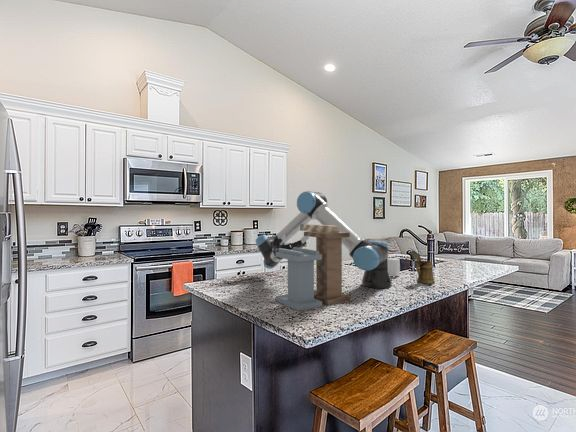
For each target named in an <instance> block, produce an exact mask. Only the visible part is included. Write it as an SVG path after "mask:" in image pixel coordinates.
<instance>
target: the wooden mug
mask: <svg viewBox="0 0 576 432" xmlns="http://www.w3.org/2000/svg"><path fill="white" fill-rule="evenodd" d="M410 253H411V256H412V257H413V258H414V260H416V263H415V270H416V272H417V274H418V276H417V279H416V282H418V283H420V284H424V285H426V284H427V285H431V284H435V283H436V282H435V281H436V280H435V279H434V271H433V269H434V266H433V264H432V261H429V260H422V257H421V256H420V254H419V253H418V252H417V251H415V250H413V249H412V250H411V251H410Z"/></svg>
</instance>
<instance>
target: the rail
mask: <svg viewBox="0 0 576 432" xmlns="http://www.w3.org/2000/svg"><path fill="white" fill-rule="evenodd" d="M300 231H302V232H306V231H315V232H326V233H339V226H331V225H322V224H309V223H307V224H300V230H299V232H300Z"/></svg>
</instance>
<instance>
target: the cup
mask: <svg viewBox="0 0 576 432" xmlns="http://www.w3.org/2000/svg"><path fill="white" fill-rule="evenodd" d="M400 268H401V266H400V259H399V258H395V257H391V258H390V257H388V273H389V275H392V276H398V277H400V274H401V273H400V271H401V270H400Z"/></svg>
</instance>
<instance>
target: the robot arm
mask: <svg viewBox="0 0 576 432" xmlns="http://www.w3.org/2000/svg"><path fill="white" fill-rule="evenodd" d="M328 204H329V203H328V199H327V197H326V195H324V194H323V193H321V192H317V191H311V190H306V191H303V192H301V193H300V194H299V195H298V196H297V198H296V208H297V210H298V211H299V213H298V214H297V215H296V216H295V217H293V219H292V220H291V221H290V222H289V223H288V224H286V225H285V226H284V228H282V229H281V230H280V231H279V232H278V233H277V234H276V235H275V236H274V237H270V238H269V237H268V236H267V235H266V234H262V235H259V236H258V237H257V238H256V239H255V243H256V246H257V247H258V249H259V251H260V253H261V255H262V257H263V258H264V259H263V261H262V262H263V266H264V267H265V268H266V269H273V268H275V267H277V266H278V264H280V263H281V262H282V260H283V258H279V257H276V252H279V248H283V249H288V250H293V247H297V248H303V247H304V246H305V245H307V241H308V240H309V239H310V237H309V236H304V235H303V236H302V237H301V238H300V239H299V240H297V241H294V242H289V243H287V242H288V241H289V240H291V239H292V238H293V237H294V236H295V235H296V234H297V233H298V232H300V224H309V222H311V221H312V220H313V221H315V220H316V221H317V222H319V223H320V225H331V226H339V232H348V233H350V237H346V238H342V245H343V246H344V247H345V249H347V250H348V255H349V256H350V257H351V258H352V260H353V263H354V265H355V266H356V268H358V269H360V270H362V271H364V274H363V277H362V280H361V285H362V286H364V287H366V288H373V289H388V288H391V287H392V280H391V277H390V276H389V273H388V258H389V247H388V245H389V244H388V242H385V241H370V240H368V239H367V238H361V237H360V236H359V235H358V234H357V233H356V232H355V231H354V230H352V229H351V228H350V227H349V226H348V225H347V224H346V223H345V222H344V221H342V219H341V218H339V217H338V216H337V214H335V213H334V212H333V211H332V210H331V209H330V208H329V205H328ZM286 243H287V244H286Z"/></svg>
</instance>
